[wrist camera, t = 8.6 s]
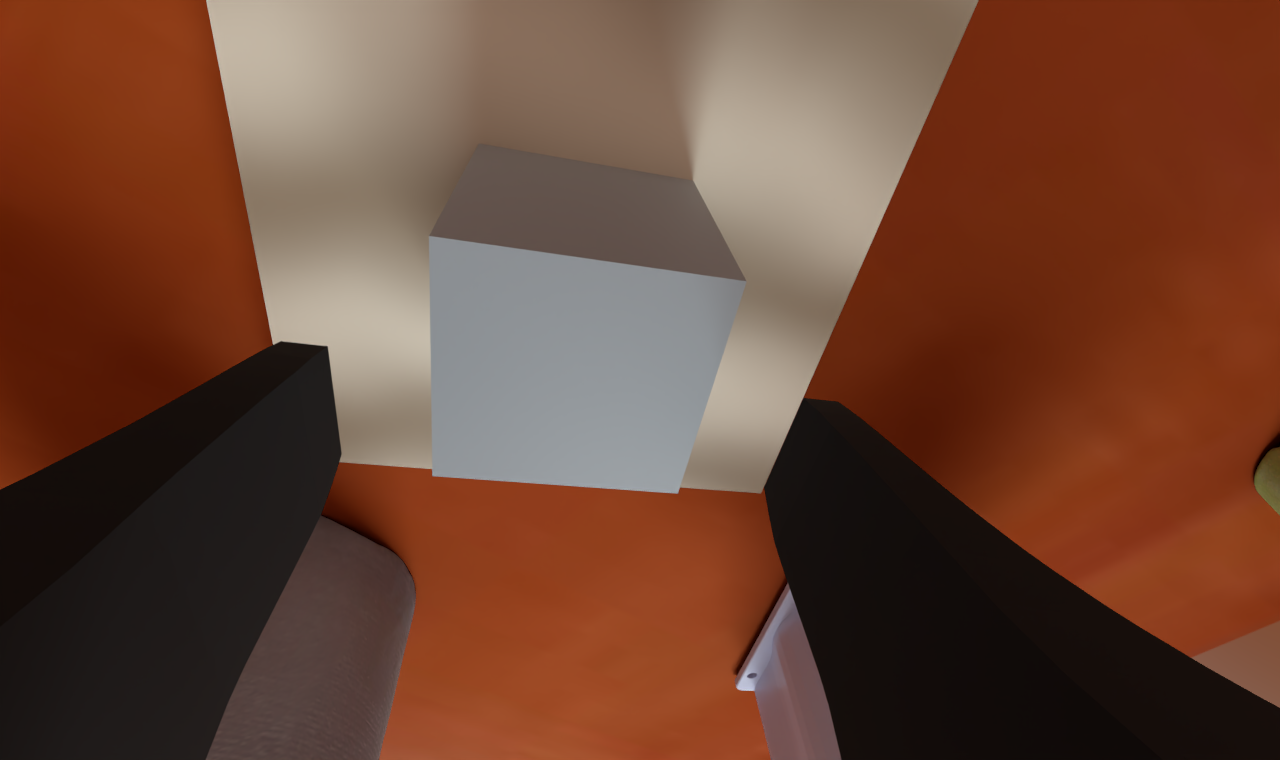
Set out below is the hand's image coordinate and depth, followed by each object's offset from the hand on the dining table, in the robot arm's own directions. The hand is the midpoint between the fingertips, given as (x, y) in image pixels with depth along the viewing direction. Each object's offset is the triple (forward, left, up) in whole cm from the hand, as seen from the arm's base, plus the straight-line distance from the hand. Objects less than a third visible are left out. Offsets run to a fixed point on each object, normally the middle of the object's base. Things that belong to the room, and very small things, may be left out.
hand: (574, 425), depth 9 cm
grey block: (0, 0, -6) cm, 6 cm away
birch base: (0, 0, -8) cm, 8 cm away
